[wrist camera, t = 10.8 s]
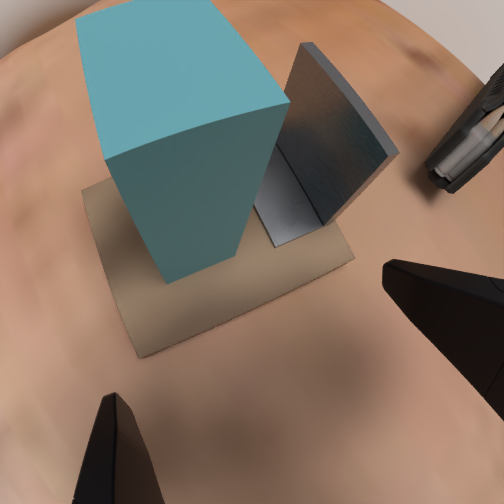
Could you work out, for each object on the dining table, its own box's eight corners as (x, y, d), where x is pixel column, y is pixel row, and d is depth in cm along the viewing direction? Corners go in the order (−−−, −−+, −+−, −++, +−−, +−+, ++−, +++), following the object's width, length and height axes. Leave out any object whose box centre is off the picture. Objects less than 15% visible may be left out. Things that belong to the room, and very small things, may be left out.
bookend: (331, 223, 19) (399, 152, 12) (274, 248, 18) (324, 178, 11) (278, 133, 21) (312, 41, 13) (223, 150, 20) (238, 51, 12)
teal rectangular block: (235, 256, 18) (290, 101, 6) (166, 284, 17) (104, 159, 5) (193, 167, 19) (197, -13, 8) (131, 191, 18) (75, 19, 7)
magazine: (519, 44, 25) (554, 23, 8) (535, 61, 24) (588, 65, 7) (456, 114, 39) (408, 177, 22) (470, 129, 38) (436, 209, 21)
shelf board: (345, 264, 20) (355, 257, 19) (144, 357, 17) (139, 358, 15) (271, 134, 22) (275, 121, 21) (88, 200, 19) (81, 190, 18)
